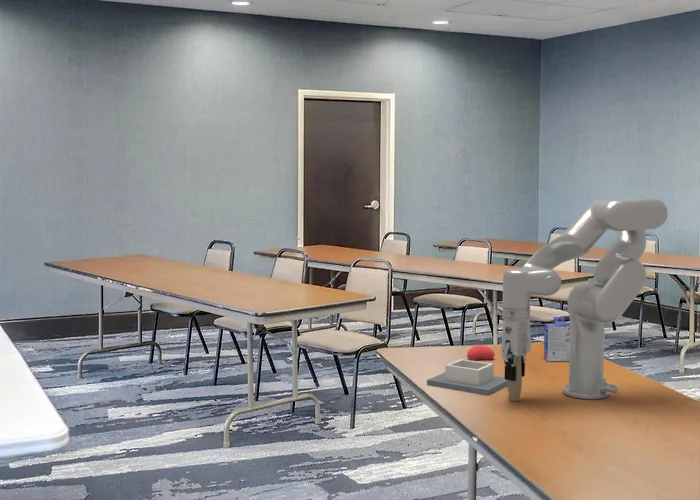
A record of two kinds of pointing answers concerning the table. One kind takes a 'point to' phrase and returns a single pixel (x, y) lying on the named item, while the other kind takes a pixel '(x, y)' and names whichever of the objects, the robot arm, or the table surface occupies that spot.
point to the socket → (469, 377)
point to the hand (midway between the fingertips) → (514, 377)
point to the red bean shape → (480, 353)
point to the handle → (515, 386)
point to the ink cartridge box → (557, 341)
